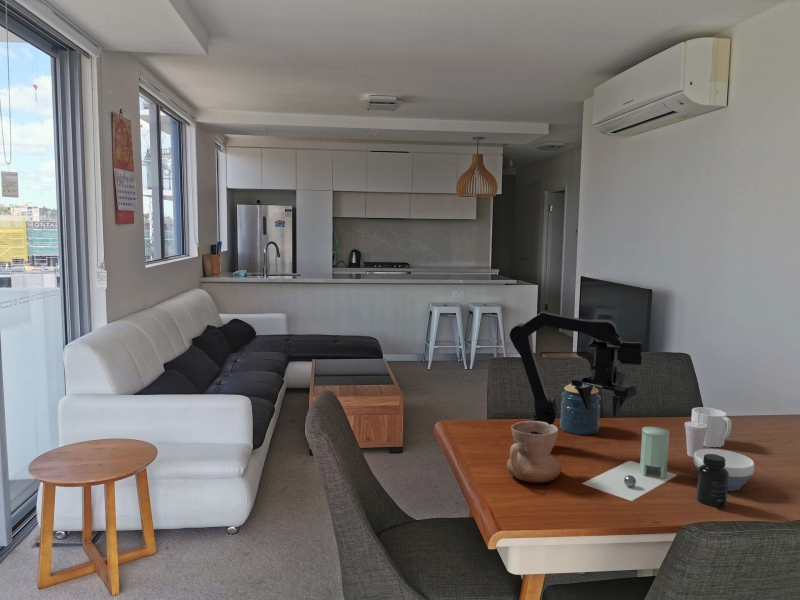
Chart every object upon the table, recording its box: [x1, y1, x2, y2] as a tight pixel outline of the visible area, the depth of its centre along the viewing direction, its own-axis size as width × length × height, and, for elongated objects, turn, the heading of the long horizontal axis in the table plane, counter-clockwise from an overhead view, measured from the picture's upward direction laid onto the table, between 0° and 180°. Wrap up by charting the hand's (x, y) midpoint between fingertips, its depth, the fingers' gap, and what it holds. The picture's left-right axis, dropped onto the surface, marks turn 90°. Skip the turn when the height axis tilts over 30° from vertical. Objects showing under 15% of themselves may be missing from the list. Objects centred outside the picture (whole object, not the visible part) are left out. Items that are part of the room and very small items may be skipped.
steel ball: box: [624, 475, 636, 487], centre depth 163 cm, size 3×3×3 cm
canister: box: [559, 383, 602, 436], centre depth 211 cm, size 13×13×18 cm
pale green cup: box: [639, 426, 670, 479], centre depth 172 cm, size 7×7×12 cm
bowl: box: [693, 448, 755, 492], centre depth 167 cm, size 14×14×8 cm
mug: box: [690, 406, 733, 448], centre depth 200 cm, size 13×10×10 cm
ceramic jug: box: [506, 420, 562, 484], centre depth 169 cm, size 18×14×14 cm
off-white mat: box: [581, 460, 678, 502], centre depth 168 cm, size 26×14×1 cm, turn 132°
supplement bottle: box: [695, 454, 729, 509], centre depth 155 cm, size 7×7×12 cm
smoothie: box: [684, 411, 708, 458], centre depth 188 cm, size 6×6×14 cm
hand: (601, 413), depth 186 cm, fingers open, 9 cm apart
